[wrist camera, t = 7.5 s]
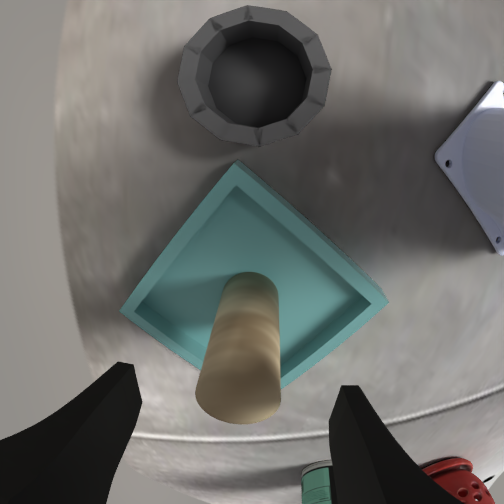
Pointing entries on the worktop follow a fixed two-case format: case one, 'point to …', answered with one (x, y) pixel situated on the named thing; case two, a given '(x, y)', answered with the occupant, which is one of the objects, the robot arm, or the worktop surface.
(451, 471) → the plant pot
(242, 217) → the teal tray
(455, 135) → the robot arm
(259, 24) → the dark gray cup
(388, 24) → the worktop surface
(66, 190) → the worktop surface
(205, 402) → the birch dowel
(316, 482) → the spray can
